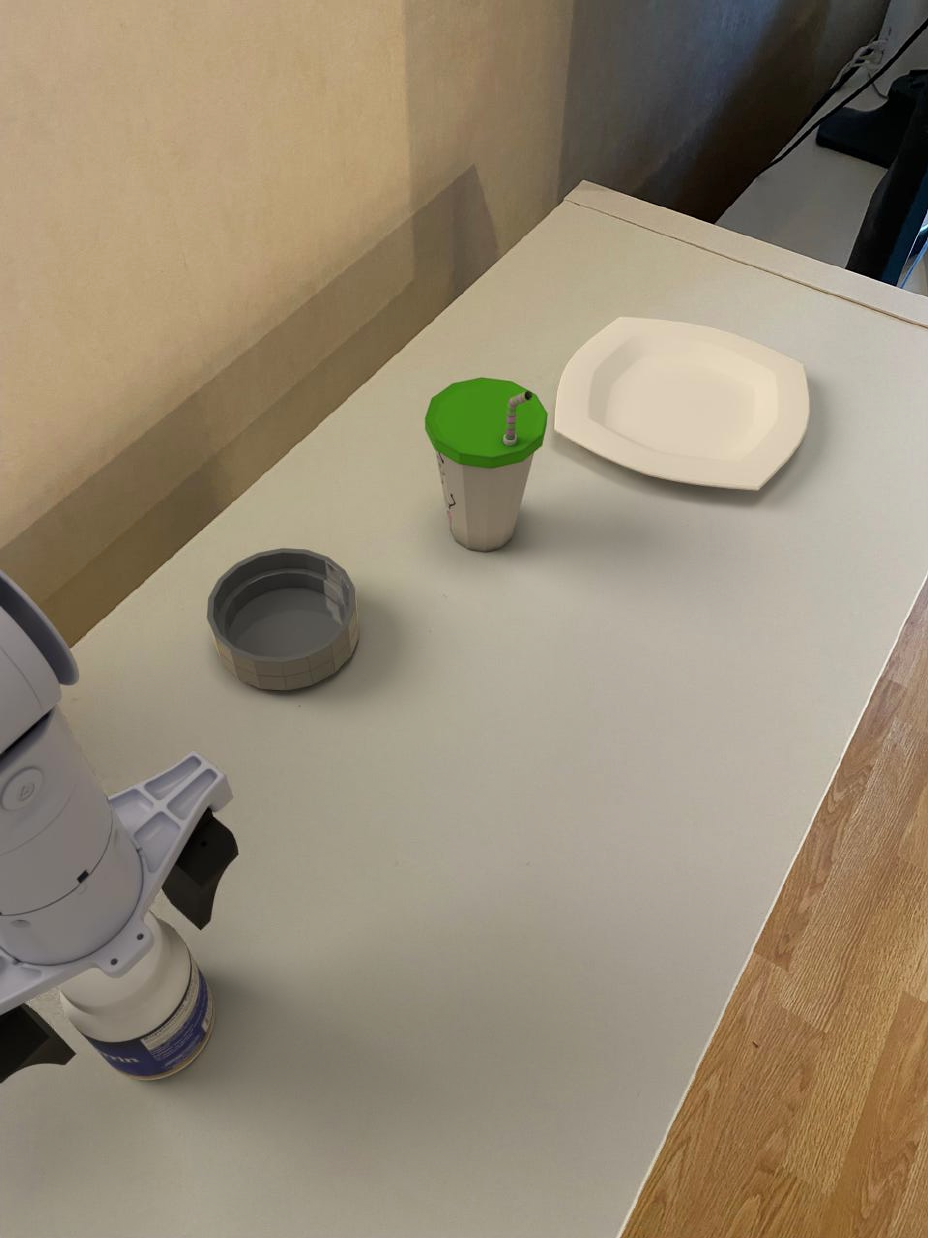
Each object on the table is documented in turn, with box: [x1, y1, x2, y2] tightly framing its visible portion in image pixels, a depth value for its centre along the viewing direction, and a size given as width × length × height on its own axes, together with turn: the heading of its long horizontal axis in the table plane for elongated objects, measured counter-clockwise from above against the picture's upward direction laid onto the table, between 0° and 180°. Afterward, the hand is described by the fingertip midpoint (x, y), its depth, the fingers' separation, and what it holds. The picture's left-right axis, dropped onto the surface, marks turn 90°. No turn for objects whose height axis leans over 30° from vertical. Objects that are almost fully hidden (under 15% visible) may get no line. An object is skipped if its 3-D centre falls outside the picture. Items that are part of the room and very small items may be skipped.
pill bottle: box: [56, 909, 216, 1081], centre depth 47 cm, size 6×6×10 cm
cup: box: [424, 376, 549, 553], centre depth 67 cm, size 8×8×15 cm
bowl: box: [206, 547, 360, 691], centre depth 65 cm, size 9×9×4 cm
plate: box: [553, 316, 811, 491], centre depth 80 cm, size 19×19×2 cm
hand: (126, 976), depth 46 cm, fingers open, 7 cm apart
